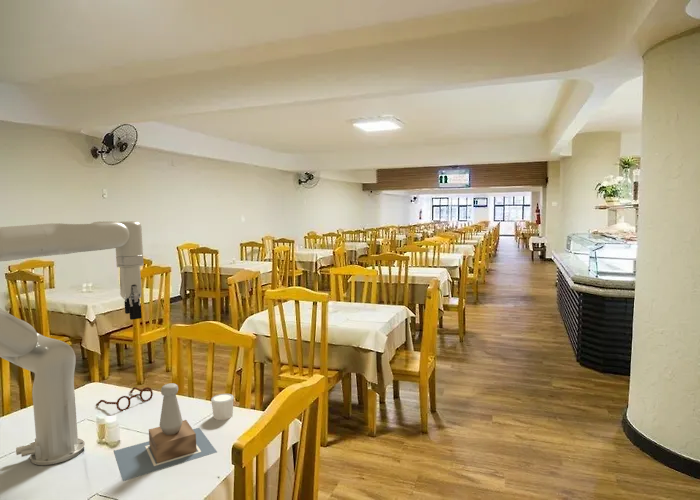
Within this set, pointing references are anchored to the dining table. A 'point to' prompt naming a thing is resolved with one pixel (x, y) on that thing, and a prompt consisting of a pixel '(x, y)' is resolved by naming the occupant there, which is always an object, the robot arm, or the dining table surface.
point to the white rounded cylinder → (222, 406)
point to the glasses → (129, 398)
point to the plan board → (144, 462)
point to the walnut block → (172, 442)
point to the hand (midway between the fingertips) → (133, 315)
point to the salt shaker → (170, 410)
